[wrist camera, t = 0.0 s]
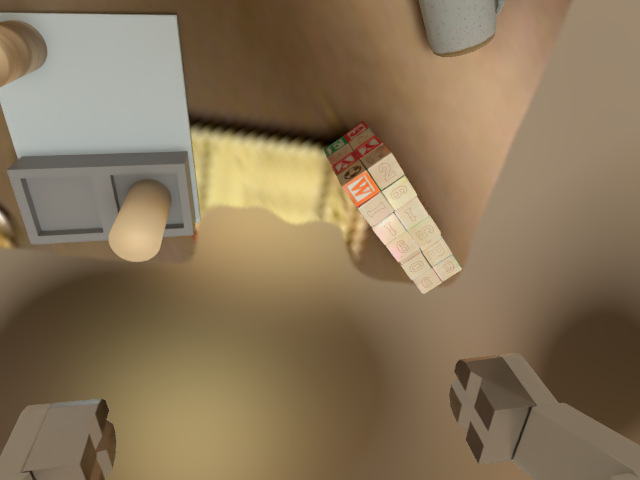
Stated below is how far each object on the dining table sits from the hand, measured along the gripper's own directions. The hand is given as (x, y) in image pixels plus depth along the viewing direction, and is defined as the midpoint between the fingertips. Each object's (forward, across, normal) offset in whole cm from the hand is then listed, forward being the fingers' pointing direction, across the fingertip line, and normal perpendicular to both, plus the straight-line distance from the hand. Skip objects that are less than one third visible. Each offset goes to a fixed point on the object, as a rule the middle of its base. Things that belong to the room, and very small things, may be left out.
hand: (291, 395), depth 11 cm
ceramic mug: (+48, -24, -7) cm, 54 cm away
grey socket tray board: (+48, +16, +7) cm, 51 cm away
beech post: (+47, +22, -2) cm, 52 cm away
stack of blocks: (+48, -18, +17) cm, 54 cm away
